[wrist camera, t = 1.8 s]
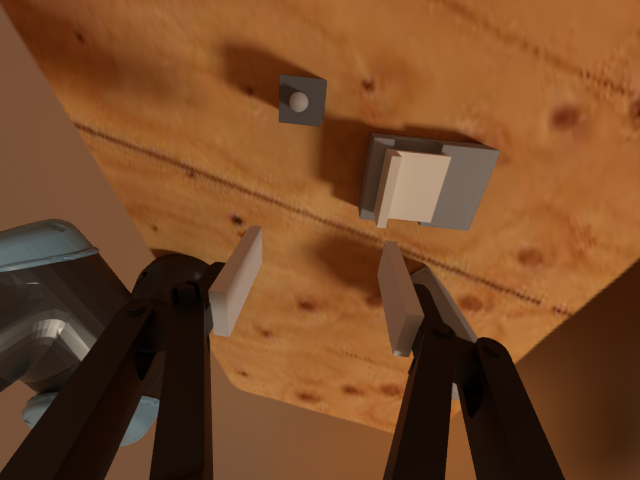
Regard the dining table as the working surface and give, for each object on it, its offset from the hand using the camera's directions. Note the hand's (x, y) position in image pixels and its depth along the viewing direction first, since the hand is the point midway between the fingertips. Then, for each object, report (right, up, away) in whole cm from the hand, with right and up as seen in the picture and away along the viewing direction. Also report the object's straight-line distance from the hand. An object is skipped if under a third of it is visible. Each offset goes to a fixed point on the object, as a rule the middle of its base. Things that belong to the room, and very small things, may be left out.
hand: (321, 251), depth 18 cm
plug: (-1, +18, +15) cm, 23 cm away
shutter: (+10, +7, +15) cm, 19 cm away
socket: (+13, +9, +18) cm, 24 cm away
